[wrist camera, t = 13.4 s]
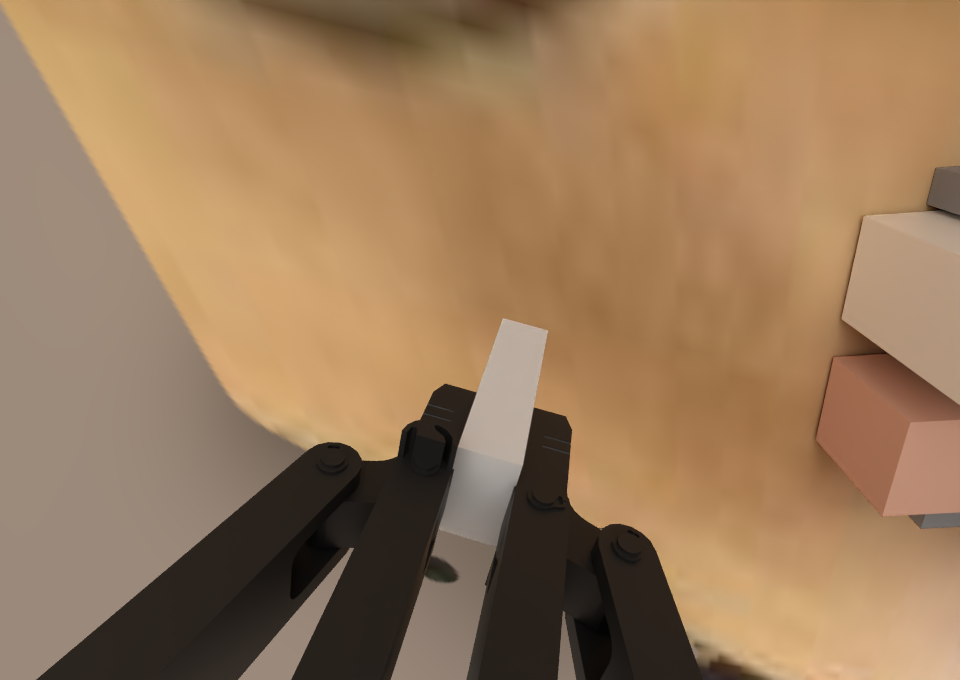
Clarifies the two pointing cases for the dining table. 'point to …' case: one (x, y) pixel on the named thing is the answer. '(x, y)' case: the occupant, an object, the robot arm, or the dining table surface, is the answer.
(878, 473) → the terracotta key
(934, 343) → the cream key
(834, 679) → the dining table surface
